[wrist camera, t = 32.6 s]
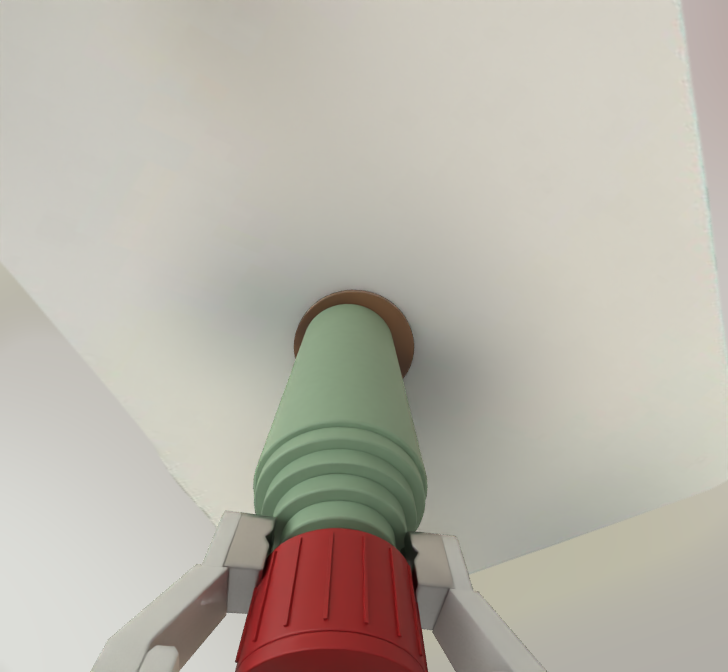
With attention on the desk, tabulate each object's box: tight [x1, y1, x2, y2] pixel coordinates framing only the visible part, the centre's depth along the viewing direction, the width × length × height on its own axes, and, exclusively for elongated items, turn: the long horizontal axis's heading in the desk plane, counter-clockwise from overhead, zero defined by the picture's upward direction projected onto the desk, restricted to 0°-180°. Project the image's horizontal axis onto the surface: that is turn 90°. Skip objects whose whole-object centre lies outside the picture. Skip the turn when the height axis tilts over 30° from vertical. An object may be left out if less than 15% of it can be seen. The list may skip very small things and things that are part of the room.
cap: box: [235, 528, 428, 672], centre depth 9 cm, size 4×4×3 cm
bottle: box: [253, 304, 427, 552], centre depth 16 cm, size 6×6×18 cm
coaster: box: [294, 290, 414, 379], centre depth 25 cm, size 8×8×1 cm
